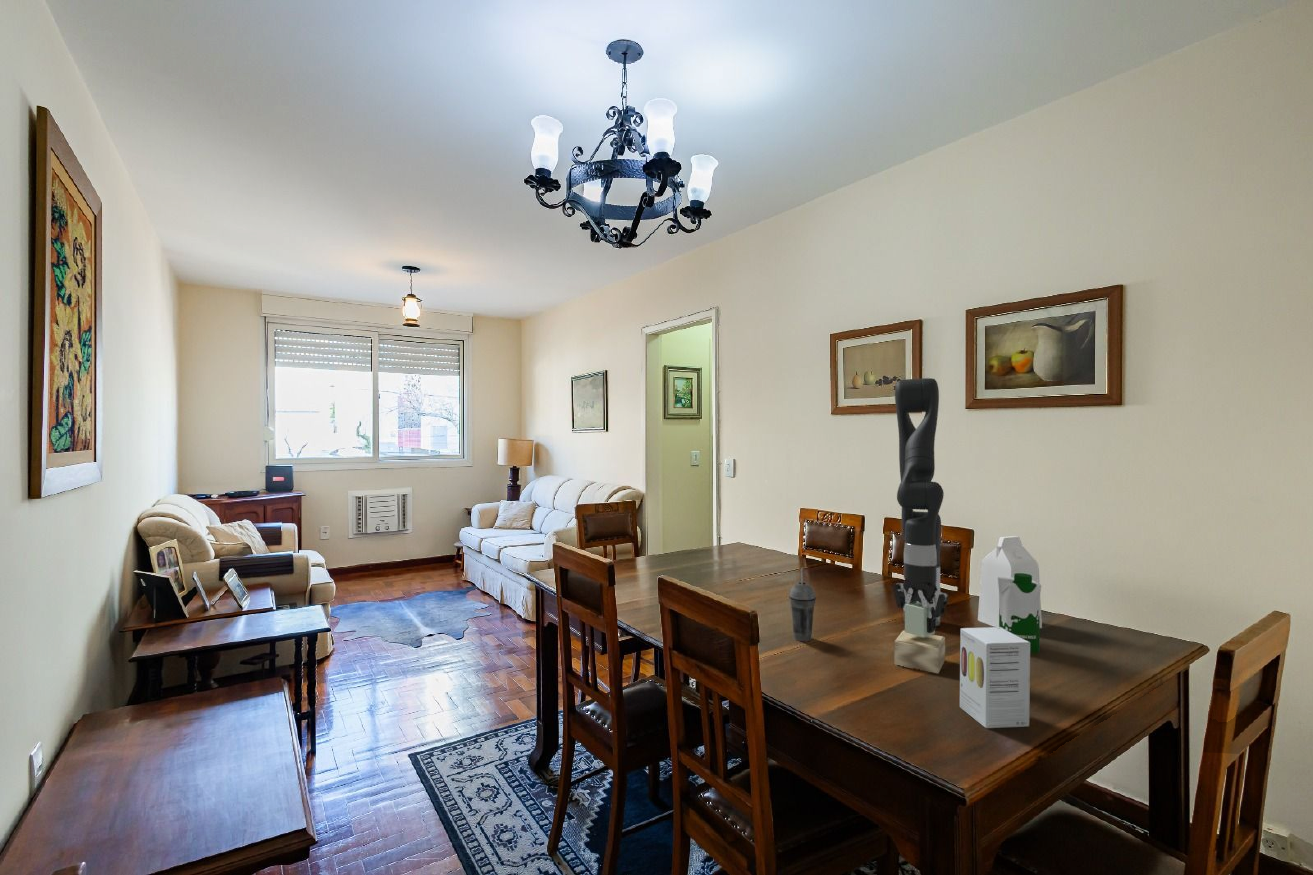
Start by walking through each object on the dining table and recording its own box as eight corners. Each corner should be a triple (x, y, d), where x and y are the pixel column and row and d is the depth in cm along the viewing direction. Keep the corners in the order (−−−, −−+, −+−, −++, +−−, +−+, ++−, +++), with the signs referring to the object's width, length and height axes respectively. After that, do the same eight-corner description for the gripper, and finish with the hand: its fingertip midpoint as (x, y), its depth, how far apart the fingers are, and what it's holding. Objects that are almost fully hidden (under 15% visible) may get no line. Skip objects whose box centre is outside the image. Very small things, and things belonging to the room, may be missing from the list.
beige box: (894, 665, 152) (894, 640, 152) (903, 653, 161) (903, 629, 161) (938, 674, 147) (938, 648, 147) (944, 661, 155) (945, 636, 155)
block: (904, 632, 154) (904, 604, 154) (916, 628, 157) (916, 601, 157) (923, 637, 150) (923, 609, 150) (934, 633, 153) (934, 605, 153)
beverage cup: (818, 636, 173) (818, 565, 173) (813, 644, 167) (813, 571, 166) (792, 633, 176) (792, 563, 176) (786, 641, 170) (786, 568, 169)
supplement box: (958, 707, 129) (958, 627, 129) (999, 705, 130) (1000, 625, 130) (986, 729, 120) (986, 643, 119) (1031, 727, 120) (1031, 641, 120)
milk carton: (1009, 654, 159) (1009, 576, 159) (993, 641, 168) (993, 568, 168) (1045, 655, 158) (1045, 577, 158) (1027, 642, 167) (1027, 569, 167)
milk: (1008, 616, 191) (1008, 532, 190) (1041, 627, 180) (1042, 539, 179) (977, 620, 187) (977, 535, 186) (1010, 632, 176) (1010, 541, 175)
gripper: (885, 558, 157) (885, 624, 157) (939, 568, 145) (939, 640, 146) (902, 554, 161) (902, 619, 162) (956, 564, 150) (955, 634, 150)
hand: (919, 629), depth 154 cm, fingers closed on block, 5 cm apart
